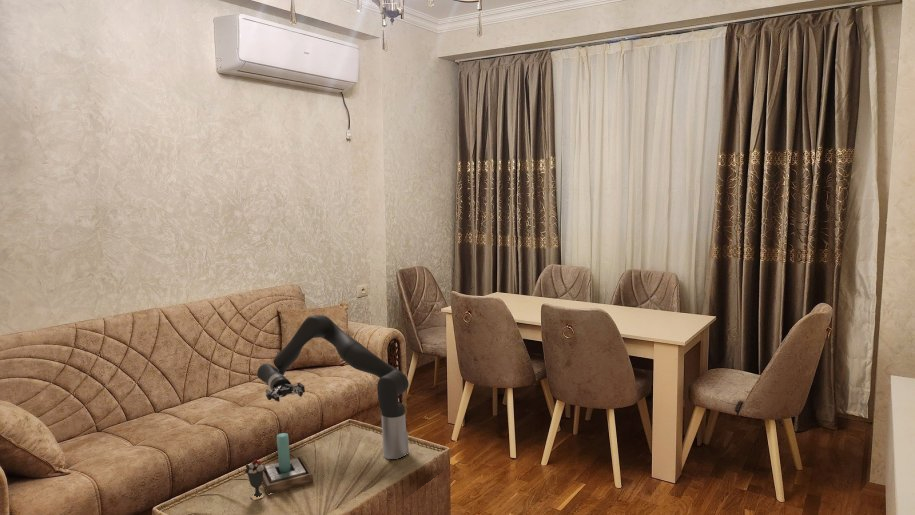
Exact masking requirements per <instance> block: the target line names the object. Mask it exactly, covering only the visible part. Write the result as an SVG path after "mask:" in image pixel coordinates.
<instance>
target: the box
mask: <svg viewBox="0 0 915 515" xmlns="http://www.w3.org/2000/svg"><path fill="white" fill-rule="evenodd" d="M296 458H298V460H299V462H300V463H301V465H302V467H303V468H304V470H305V472H306V475H302V476H298V477H294V478H290V479H286V480H283V481H279V482H275V483H271V484H270V482H269V480H268V478H267V476H266V472H265V470H264V471H263V483H262V484H264V485H263V487H264V486H265V487H264V489H265V488H266V489H265V491H266V490H267V492H266V493H268V494H270V493H274V494H276V492H278V493H282V492H285V491H289V490H293V489H297V488H300V487H303V486H308V485H311V484H314V474H313V472H312V471H311V468H310V467H309V466H308V464H307V463H306V461H305V460H304V458H303V456H302V455H301V456H296V457H292V458H290V460H292V459H296ZM276 463H279V461H275V462H272V463H268V464H262V465H263V466H268V465H272V464H276ZM268 494H267V495H268Z"/></svg>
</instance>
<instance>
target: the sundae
mask: <svg viewBox="0 0 915 515" xmlns="http://www.w3.org/2000/svg"><path fill="white" fill-rule="evenodd" d="M261 456H262V455H261V454H259V455H258V457H257V458H256V459H254V460H253V461H251V463H249V464H246V465H245V468H246V469H245V470H244V473H246V474H247V477H248V479H249V480H248V481H249V485H250V486H251V487H252V488H254V491H255V492H254V493H255V494H254V493H253V494H254V496H256V497H258V496H259V497H260V496H261V495H262V493H263V492H262V493H260V487H261V486H262V484H263V483H262V482H263V471H264V470H265V466H263V465H264V464H262V462H261V461H260V460H259V459H260V458H261Z"/></svg>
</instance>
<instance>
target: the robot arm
mask: <svg viewBox="0 0 915 515" xmlns="http://www.w3.org/2000/svg"><path fill="white" fill-rule="evenodd" d="M319 338H320V339H321V338H322V339H324V340H326V341H327V342H328V343H330V344H331V345H332V346H333V347H334V348H335V349H336V351H337V353H338V354H337V355H338V356H340V358H341V359H342V361H344V362H345V363H346V364H348V365H349V366H350V367H351V368H353V369H355V370H357V371H361V372H364V373H368V374H371V375H373V376H376V377H377V378H379V379H378V381H377V384H376V385H377V387H376V388H377V389H376V390H377V398H378V399H377V400H378V406H379V409H380V414H381V433H382V454H383V457H384V458H385V459H387V460H390V459H397V460H399V459H398V458H401V457H403V456H404V455H405V454H407V453H409V452H410V450H409V432H408V430H407V426H406V424H407V423H406V422H407V421H406V406H405V404H404V403H402V402H399V398H398V397H399V396H400V395H402V394H403V393H404V392H406V391H407V390H408V389H409V379H408V377H407V376H406V375H405V373H403V371H401V370H399V369H398V368H396V367H394V366H392V365H391V364H389V363H388V362H386V361H384V360H383V359H381V358H380V357H378V355H376V354H374V353H373V352H372V351H370V350H369V349H368V348H367V347H365V346H364V345H363V344H362V343H360V342H359V341H357V340H356V339H355V338H353V337H352V336H350V335H349V334H348V333H346V332H345V331H344V330H342V329H341V327H339V326H338V325H337V324H336V323H335V322H334V321H333V320H332V319H331V318H330V317H328V316H327V315H324V314H323V315H322V314H319V315H318V314H317V315H315V314H314V315H310V316H308V317H306V318H305V320H304V321H303V322H302V323H301V324H300V326H299V328H298V330H297V331H296V332H295V334H294V335H293V336H292V338H291V339H290V340H289V342H287V344H286V345H285V346H284V347H283V348H282V349H281V351H280V352H279V353H278V354H277V355H275V357H274V358H273V365H272V364H269V363H262V364H261V365H260V366H259V368H258V369H257V372H256V374H257V378H258V379H260V380H261V382H264V383H265V384H266V385H267V387H269V388H267V389H265V397H266V399H267V400H268V401H272V399H273V400H274V401H276V402H277V403H279V402H280V398H284V397H286V396H289V395H293V396H295V395H298V396H299V397H300V398H301V397H303V395H304V394H305V392H306V390H305V385H304V384H303V383H301V382H297V385H294V384H292V382H291V381H290V380H289V379H288V378H287V377H286V376H285V374H286V372H287V370H288V368H290V367H291V365H292V364H294V363H295V361H297V359H298V358H299V356H300V354H301V352H302V349H303V347H304V346H305V345H306V344H307V343H308V342H310V341H311V340H312V339H319ZM409 454H410V453H409ZM403 458H404V457H403ZM401 459H402V458H401Z"/></svg>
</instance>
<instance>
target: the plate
mask: <svg viewBox="0 0 915 515" xmlns="http://www.w3.org/2000/svg"><path fill="white" fill-rule="evenodd" d="M295 458H296V457H295ZM291 459H292V458H291ZM290 466H291V472H287V473H283V474H280V472H279V463H276V464H272V465H268V466H265V472H266V476H267V478H268V480H269V482H270V484H271V483H275V482H279V481H283V480H286V479H290V478H294V477H298V476H302V475H306V472H305V470H304V468H303V467H302V465H301V463H300V462H299V460H298V458H296V459H292V460H290Z"/></svg>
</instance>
